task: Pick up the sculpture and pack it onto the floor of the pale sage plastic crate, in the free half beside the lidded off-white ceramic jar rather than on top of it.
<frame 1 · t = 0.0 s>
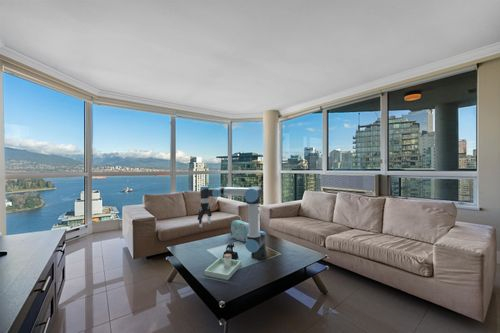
hand: (205, 225, 198), 28 cm above the table, fingers open, 13 cm apart
sculpture: (230, 259, 189), on the table
tote: (223, 271, 166), on the table
lunch box: (240, 239, 238), on the table
jar: (227, 265, 173), point 1 cm above the table, touching tote
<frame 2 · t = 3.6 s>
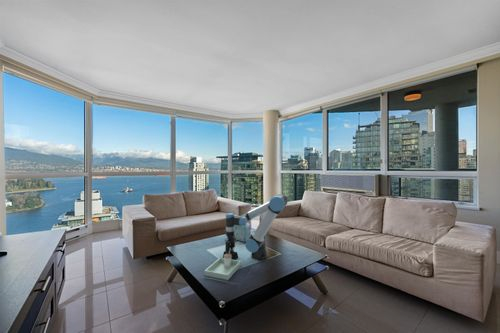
hand: (230, 256, 189), 2 cm above the table, fingers closed on sculpture, 7 cm apart
sculpture: (230, 259, 189), on the table, touching gripper
everything else where it was.
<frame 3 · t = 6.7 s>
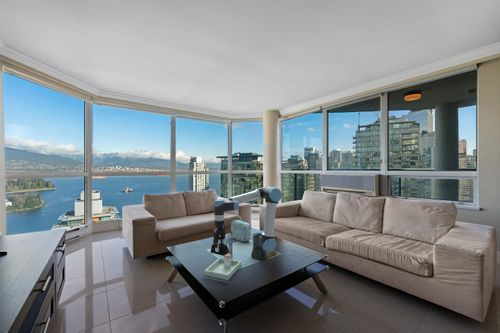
hand: (219, 249, 161), 19 cm above the table, fingers closed on sculpture, 7 cm apart
sculpture: (219, 252, 162), point 17 cm above the table, touching gripper
everything else where it was.
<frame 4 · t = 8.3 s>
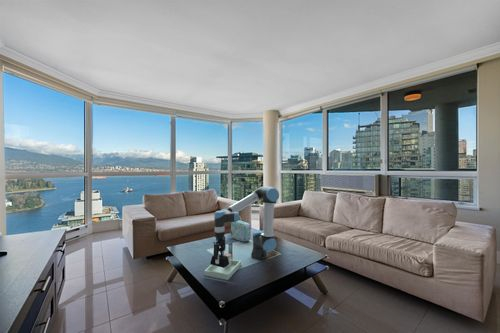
hand: (219, 261, 161), 10 cm above the table, fingers closed on sculpture, 7 cm apart
sculpture: (219, 264, 161), point 8 cm above the table, touching gripper
everything else where it was.
when the fingers open (5 cm above the table, at t = 9.7 s): sculpture drops 2 cm, resting on tote.
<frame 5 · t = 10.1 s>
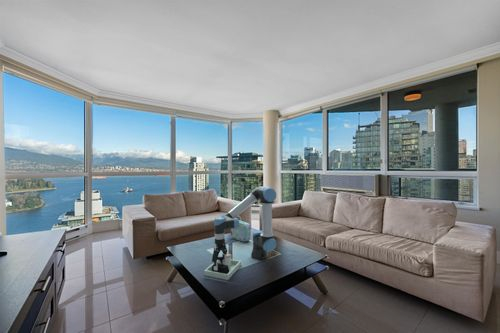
hand: (220, 266, 161), 7 cm above the table, fingers open, 12 cm apart
sculpture: (220, 273, 161), point 1 cm above the table, touching tote
everything else where it was.
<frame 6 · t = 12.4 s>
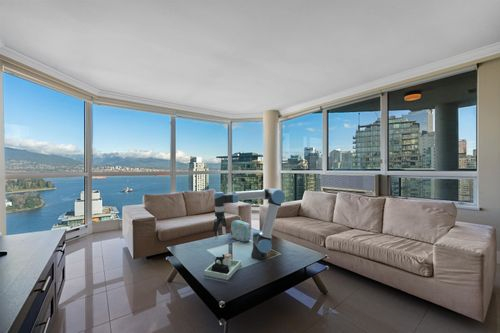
hand: (220, 237, 172), 25 cm above the table, fingers open, 13 cm apart
nothing on the table moved.
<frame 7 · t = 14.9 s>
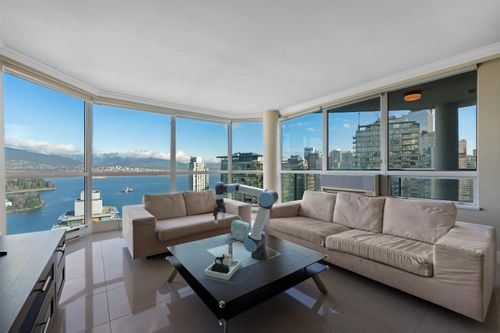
hand: (219, 221, 196), 32 cm above the table, fingers open, 13 cm apart
nothing on the table moved.
at the end: sculpture inside the target area on the tote (0.4 cm from its centre), point 0.8 cm above the tote's base; jar tilted 0°; jar moved 0.0 cm from its start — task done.
